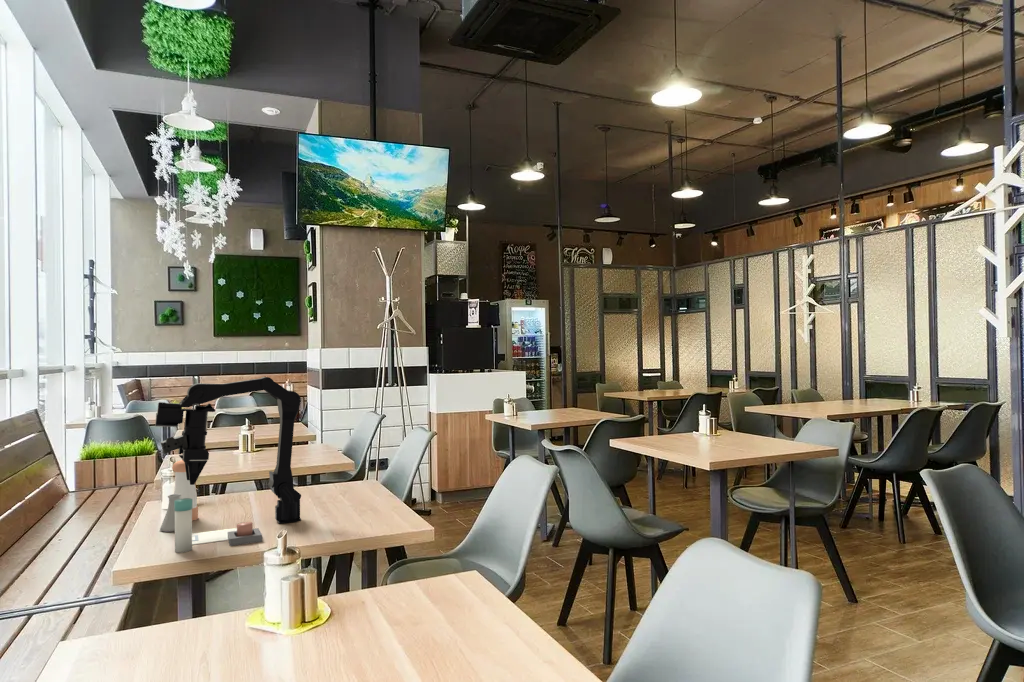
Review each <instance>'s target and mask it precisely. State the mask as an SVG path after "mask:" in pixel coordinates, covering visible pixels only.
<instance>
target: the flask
mask: <svg viewBox="0 0 1024 682" xmlns="http://www.w3.org/2000/svg"><path fill="white" fill-rule="evenodd" d="M180 496H181V494H174V493H173V494H169V495H167V498H168V504H167V505H168V506H167V510H166V513H165V515H164V518H163V519H162V520H163V521H162V523H161V525H160V528H159V531H160V532H175V510H174V501H175V500H177V499H180Z"/></svg>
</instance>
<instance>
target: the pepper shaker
mask: <svg viewBox="0 0 1024 682" xmlns="http://www.w3.org/2000/svg"><path fill="white" fill-rule="evenodd" d="M171 468H172V471H173V472H174V478H175V479H174V490H173V494H181V496H180V499H183V498H191V499H192V522H193V521H197V520H198V519H199V506H198V505H197V503H198V494H197V488H196V483H195V484H194V485H190V480H187V477H186V470H185V463H184V461H183V459H182V458H181V460H177V461H176V462H174V463H173V464H172V467H171Z"/></svg>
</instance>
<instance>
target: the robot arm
mask: <svg viewBox="0 0 1024 682" xmlns="http://www.w3.org/2000/svg"><path fill="white" fill-rule="evenodd" d="M259 391H260V392H261V391H264V392H265V393H267V394H268V395H269V396H271V397H272V398H274V399H276V401H277V410H278V417H279V430H278V431H279V432H278V443H277V452H276V453H277V454H276V463H275V464H276V465H275V468H274V471H272V470H270V471H268V472H269V474H268V475H269V481H268V483H267V485H268V486H269V489H270V491H271V492H272V493H274V495H275V496H276V497H277V498H278V500H276V505H275V506H274V510H275V511H274V514H275V516H274V517H275V520H276V521H277V523H278V524H287V523H288V524H289V523H294V522H295V523H297V522H301V521H302V518H301V497H302V494H301V493H300V492H298V491H297V490H296V489H295V486H294V477H293V471H292V465H291V464H292V453H293V441H294V431H295V429H294V428H295V421H296V420H295V419H296V418H297V415H298V413H299V409H300V405H301V401H302V400H301V395H299V393H298V392H297V391H293V390H289V389H287V388H285V387H283V386H281V384H279V383H277V382H276V381H274V380H273V378H271V377H269V376H261V378H260V377H259V378H254V379H246V380H240V381H233V382H226V383H225V382H224V383H200V382H199V383H197V382H196V383H193V384H191V385H190V387H189V388H188V389H187V392H186V396H184V398H183V399H180V402H179V403H174V402H173V403H172V402H164V401H163V402H162V401H159V402H158V404H157V411H156V413H155V427H165V428H166V427H167V428H177V427H178V426H179V425H181V424H183V422H184V428H183V430H182V432H181V435H178V436H175V437H173V436H171V437H167V438H166V439H165V440H161V441H160V443H159V444H160V447H161V449H162V453H163V454H169V453H170V452H173V451H177V450H178V452H177V453H178V454H179V455H178V456H179V458H180V459H181V460H182V459H183V461H184V463H185V470H186V477H187V480H190V485H194V484H195V485H196V482H197V481H198V479H199V477H200V475H201V474H202V472H203V469H204V467H205V466H206V464H207V463H208V460H209V459H210V458H209V457H210V452H209V451H208V450H207V449H206V447H207V446H206V439H207V438H206V436H207V435H208V431H207V425H208V416H209V415H208V413H209V412H210V413H215V412H216V409H215V408H214V407H213V406H212V404H211V403H209V402H212V401H214V400H217V399H220V398H224V397H229V396H234V395H241V394H248V393H253V392H254V393H255V392H259ZM205 403H207V404H206V405H202V404H205ZM195 404H196V405H195ZM193 405H195V406H194V408H191V407H192V406H193ZM184 412H185V418H184ZM184 419H185V420H184Z"/></svg>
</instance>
